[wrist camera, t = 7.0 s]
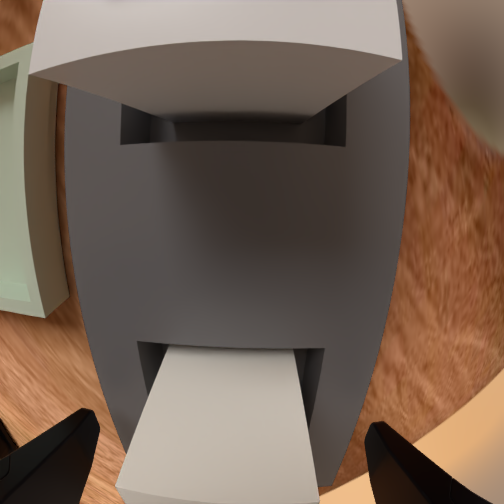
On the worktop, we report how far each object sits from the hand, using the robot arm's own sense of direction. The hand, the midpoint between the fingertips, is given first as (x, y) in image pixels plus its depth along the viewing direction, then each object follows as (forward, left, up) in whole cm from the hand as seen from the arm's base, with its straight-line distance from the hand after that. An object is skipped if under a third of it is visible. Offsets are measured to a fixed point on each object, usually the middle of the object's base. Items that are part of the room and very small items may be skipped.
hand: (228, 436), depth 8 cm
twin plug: (+11, 0, -4) cm, 12 cm away
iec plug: (0, 0, -4) cm, 4 cm away
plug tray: (+8, +12, -4) cm, 15 cm away
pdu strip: (+7, 0, -4) cm, 8 cm away
